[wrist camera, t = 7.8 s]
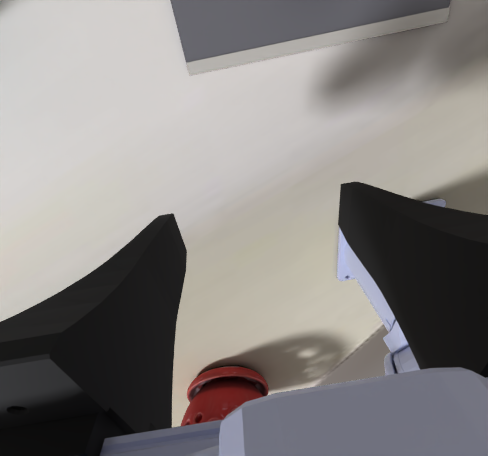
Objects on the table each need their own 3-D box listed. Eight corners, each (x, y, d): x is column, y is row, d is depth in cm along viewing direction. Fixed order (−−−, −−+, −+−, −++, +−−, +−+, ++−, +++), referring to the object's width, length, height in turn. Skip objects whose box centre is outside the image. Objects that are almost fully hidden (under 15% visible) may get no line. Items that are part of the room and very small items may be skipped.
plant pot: (179, 359, 34) (163, 484, 24) (276, 356, 36) (299, 472, 26) (182, 404, 41) (171, 515, 31) (263, 400, 43) (277, 504, 33)
